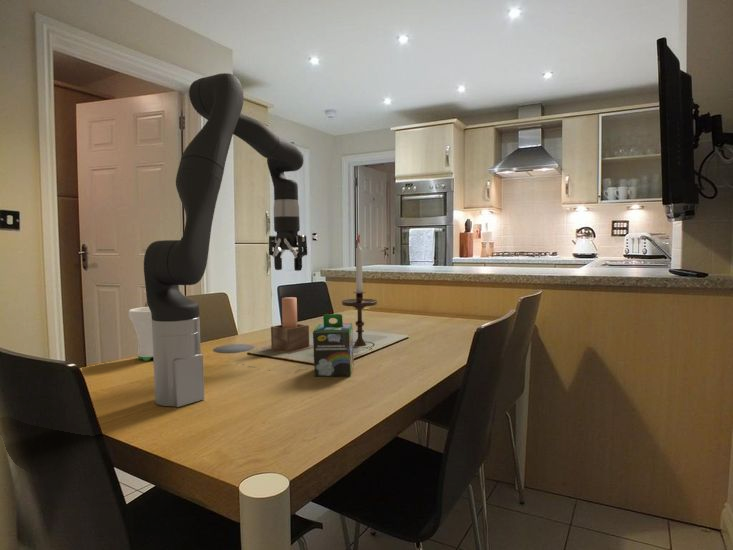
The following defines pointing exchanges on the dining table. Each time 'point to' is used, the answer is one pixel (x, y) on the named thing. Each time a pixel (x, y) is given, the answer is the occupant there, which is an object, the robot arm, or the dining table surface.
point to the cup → (143, 331)
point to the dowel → (289, 312)
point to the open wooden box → (289, 339)
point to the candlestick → (359, 298)
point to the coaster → (233, 348)
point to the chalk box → (333, 347)
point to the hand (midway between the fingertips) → (288, 270)
